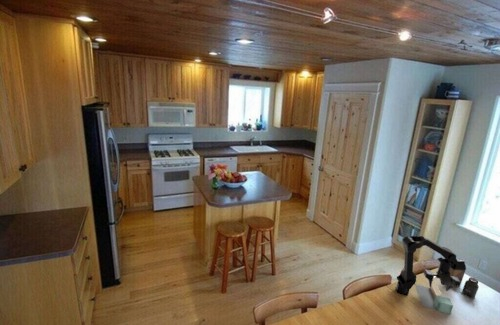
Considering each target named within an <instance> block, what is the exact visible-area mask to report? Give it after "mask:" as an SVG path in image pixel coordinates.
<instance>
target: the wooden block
mask: <svg viewBox="0 0 500 325" xmlns="http://www.w3.org/2000/svg"><path fill="white" fill-rule="evenodd" d="M465 274H466V270H465V271H459V270H453V269H452V268H451V269H450V276H454V277H457V278H458V279H459V281H460V282H461V284H460V286H461V285H462V281H463V278H464V276H465Z"/></svg>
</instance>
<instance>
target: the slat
mask: <svg viewBox="0 0 500 325" xmlns="http://www.w3.org/2000/svg"><path fill="white" fill-rule="evenodd" d="M429 288H430V290H431V292H432V294H433V296H434V299H435V297H436V295H438V296H442V297H444V296H443V295H442V292H441V290H440V288H439V286H438V284H435V283H432V285H431V287H430V286H429Z"/></svg>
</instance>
